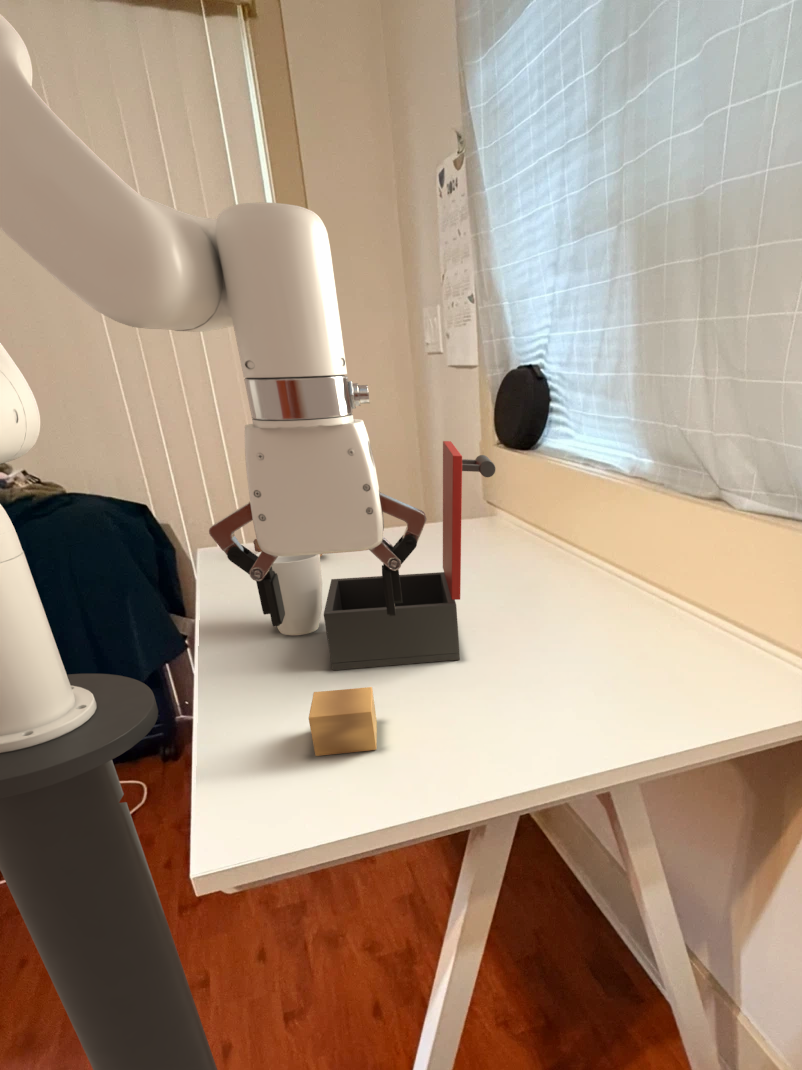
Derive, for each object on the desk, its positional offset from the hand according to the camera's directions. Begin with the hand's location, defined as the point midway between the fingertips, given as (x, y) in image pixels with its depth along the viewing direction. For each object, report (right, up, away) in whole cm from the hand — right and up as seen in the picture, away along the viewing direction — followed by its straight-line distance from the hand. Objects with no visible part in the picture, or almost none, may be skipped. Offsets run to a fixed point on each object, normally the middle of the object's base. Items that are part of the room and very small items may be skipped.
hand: (336, 616), depth 62 cm
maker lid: (+7, +15, +21) cm, 27 cm away
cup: (-14, +3, +32) cm, 35 cm away
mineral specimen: (-26, +19, +63) cm, 71 cm away
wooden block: (0, -11, +5) cm, 12 cm away
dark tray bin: (0, 0, +27) cm, 27 cm away
